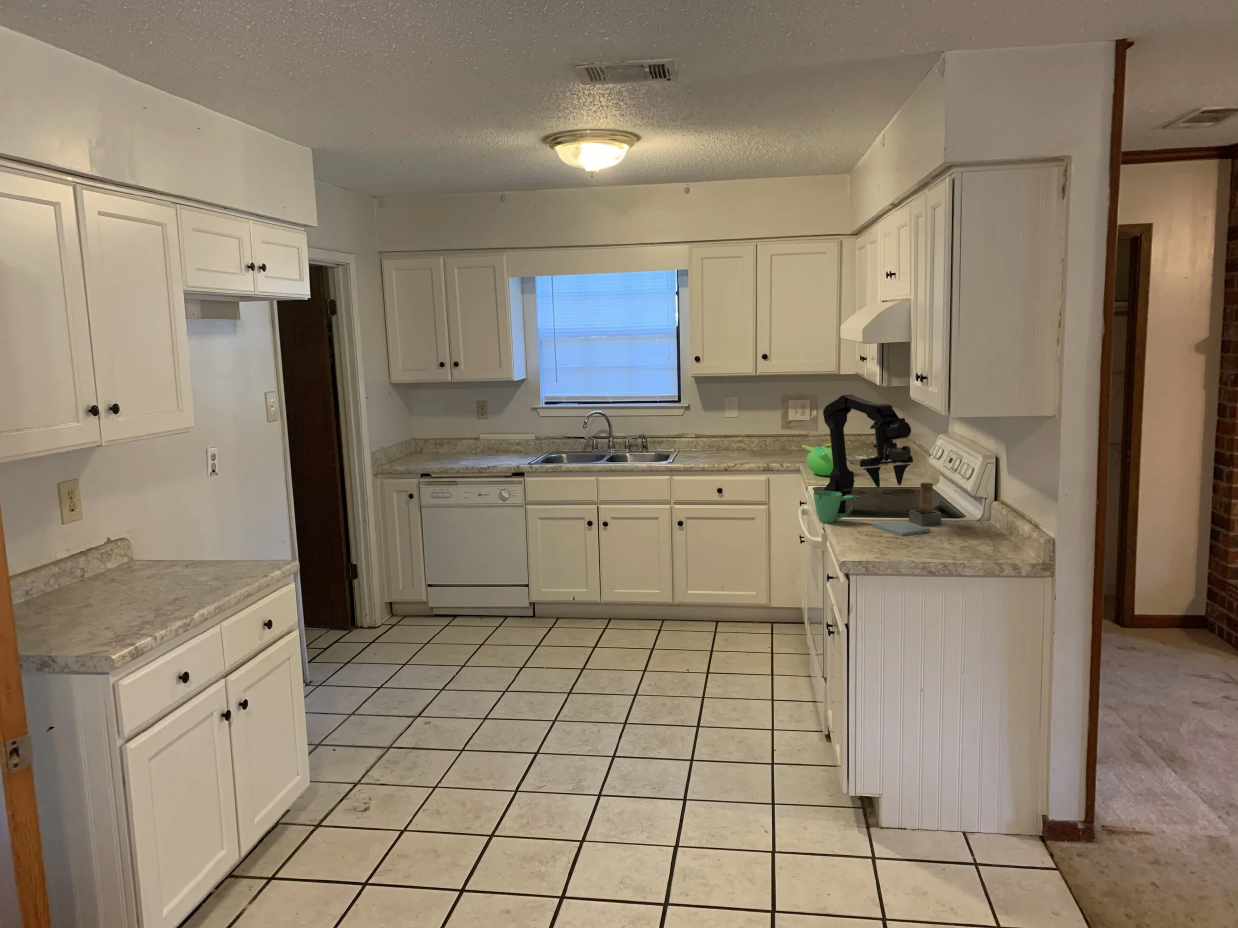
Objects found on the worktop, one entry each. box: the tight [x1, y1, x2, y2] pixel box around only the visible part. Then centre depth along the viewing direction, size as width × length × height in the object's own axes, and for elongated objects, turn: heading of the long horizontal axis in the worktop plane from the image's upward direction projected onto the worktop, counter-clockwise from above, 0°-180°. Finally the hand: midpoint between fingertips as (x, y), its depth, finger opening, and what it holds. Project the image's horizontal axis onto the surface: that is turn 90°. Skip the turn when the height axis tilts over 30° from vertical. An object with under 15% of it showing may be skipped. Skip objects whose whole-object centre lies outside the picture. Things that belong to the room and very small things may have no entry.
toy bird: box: [801, 442, 833, 477], centre depth 401 cm, size 18×17×15 cm
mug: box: [812, 490, 857, 524], centre depth 309 cm, size 15×10×10 cm
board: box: [872, 520, 931, 537], centre depth 298 cm, size 14×12×1 cm
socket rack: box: [908, 509, 942, 527], centre depth 306 cm, size 8×8×4 cm
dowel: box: [918, 482, 934, 514], centre depth 306 cm, size 4×4×14 cm
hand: (889, 486), depth 301 cm, fingers open, 9 cm apart
